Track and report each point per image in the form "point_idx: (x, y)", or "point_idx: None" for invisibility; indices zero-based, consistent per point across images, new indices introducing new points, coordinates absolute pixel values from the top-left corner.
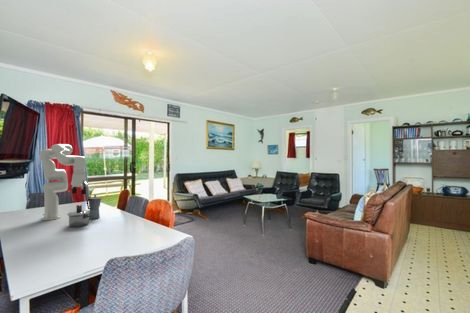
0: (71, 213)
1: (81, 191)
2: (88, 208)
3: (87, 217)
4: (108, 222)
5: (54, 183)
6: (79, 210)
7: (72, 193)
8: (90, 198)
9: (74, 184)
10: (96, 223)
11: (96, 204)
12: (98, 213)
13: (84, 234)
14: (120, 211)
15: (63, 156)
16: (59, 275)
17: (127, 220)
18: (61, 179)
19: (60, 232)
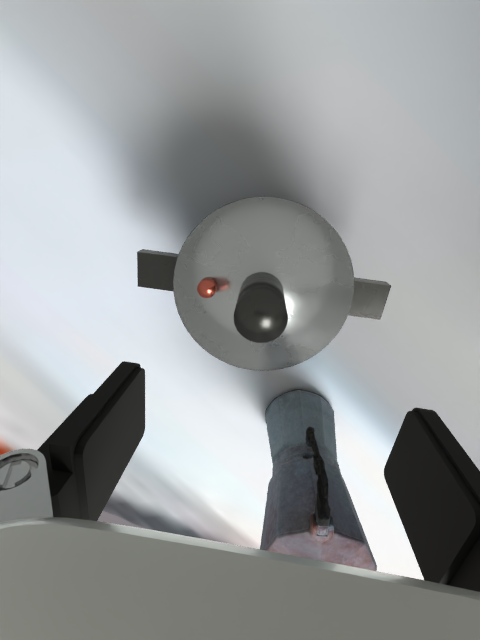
0: (286, 225)
1: (103, 404)
2: (307, 430)
3: (141, 250)
4: (125, 350)
5: None
6: (242, 286)
7: (426, 409)
8: (322, 532)
9: None
10: (178, 318)
11: (274, 490)
12: (269, 441)
13: (24, 75)
14: (251, 539)
15: None
16: None
17: (56, 401)
18: None
19: (239, 66)
